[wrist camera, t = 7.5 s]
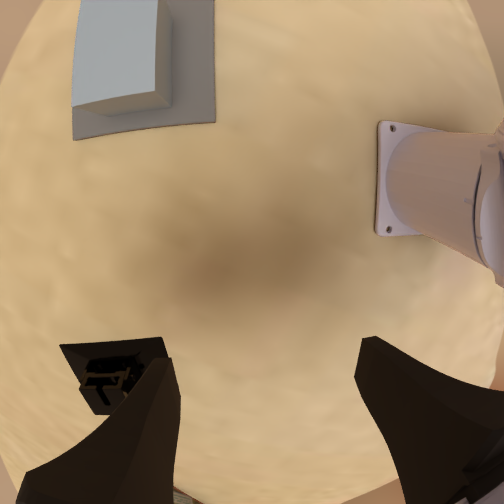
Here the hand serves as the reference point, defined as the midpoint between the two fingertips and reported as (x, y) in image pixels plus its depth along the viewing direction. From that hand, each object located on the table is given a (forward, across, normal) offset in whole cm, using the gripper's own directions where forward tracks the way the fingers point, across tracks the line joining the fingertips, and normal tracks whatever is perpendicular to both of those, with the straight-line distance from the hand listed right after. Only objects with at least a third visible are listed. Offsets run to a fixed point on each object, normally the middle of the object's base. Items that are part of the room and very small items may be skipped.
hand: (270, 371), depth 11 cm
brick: (+9, +6, -14) cm, 17 cm away
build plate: (+11, +11, +8) cm, 17 cm away
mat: (+10, +6, -14) cm, 18 cm away
